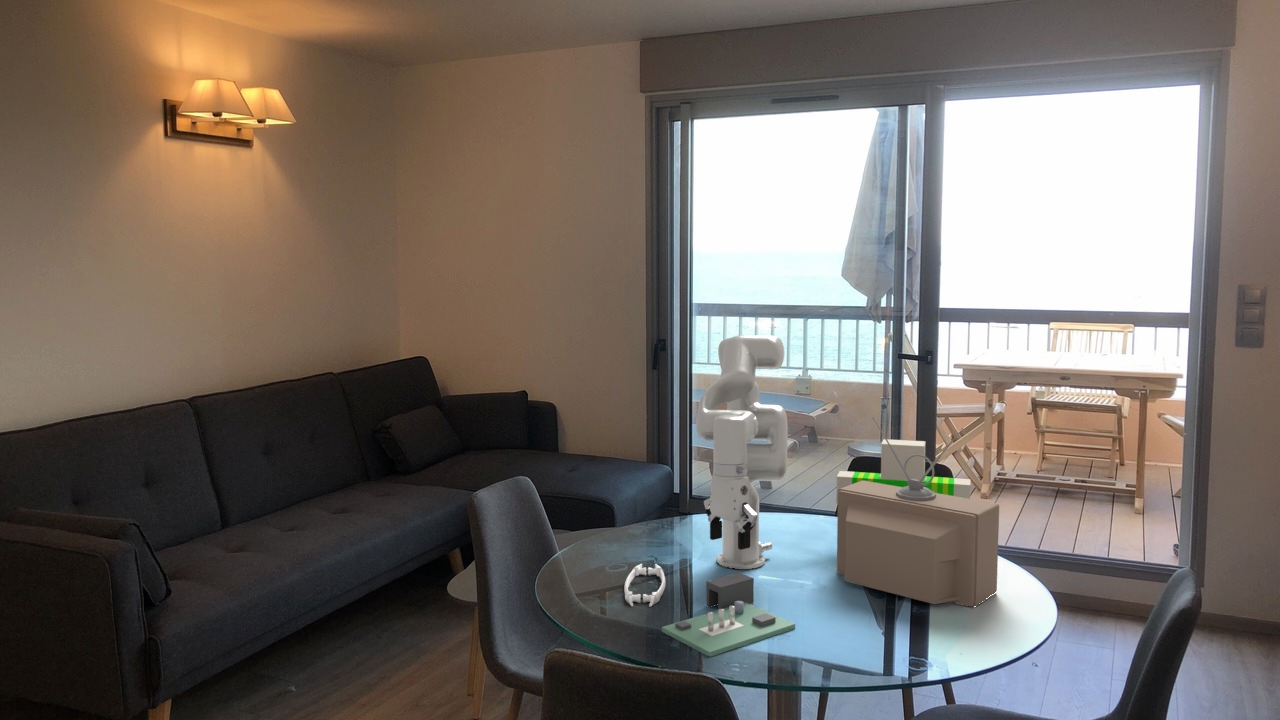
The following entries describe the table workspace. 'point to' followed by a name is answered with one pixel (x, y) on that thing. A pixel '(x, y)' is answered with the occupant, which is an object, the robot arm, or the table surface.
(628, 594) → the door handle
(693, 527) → the table surface
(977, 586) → the television
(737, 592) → the block
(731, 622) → the pins
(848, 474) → the toy
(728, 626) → the board
